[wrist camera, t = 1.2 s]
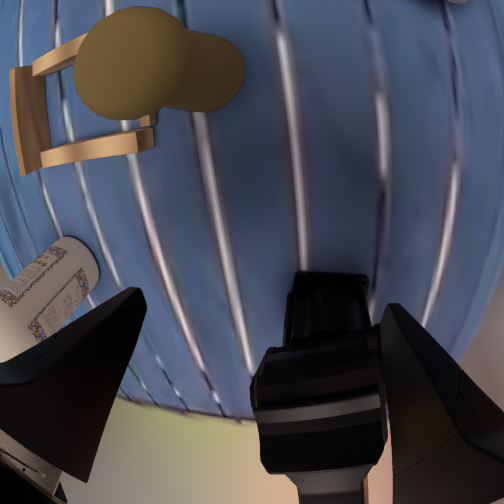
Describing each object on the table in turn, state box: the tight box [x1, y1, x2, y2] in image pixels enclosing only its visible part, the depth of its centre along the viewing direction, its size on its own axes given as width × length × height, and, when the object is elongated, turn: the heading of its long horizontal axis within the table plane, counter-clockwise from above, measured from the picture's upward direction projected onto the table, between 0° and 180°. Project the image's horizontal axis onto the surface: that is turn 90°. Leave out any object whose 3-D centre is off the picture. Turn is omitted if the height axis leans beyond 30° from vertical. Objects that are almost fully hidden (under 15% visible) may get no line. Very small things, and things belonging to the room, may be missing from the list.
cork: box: [73, 6, 245, 120], centre depth 12 cm, size 6×6×11 cm
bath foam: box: [0, 237, 99, 363], centre depth 19 cm, size 7×7×20 cm
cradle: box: [9, 33, 157, 176], centre depth 16 cm, size 14×10×4 cm
